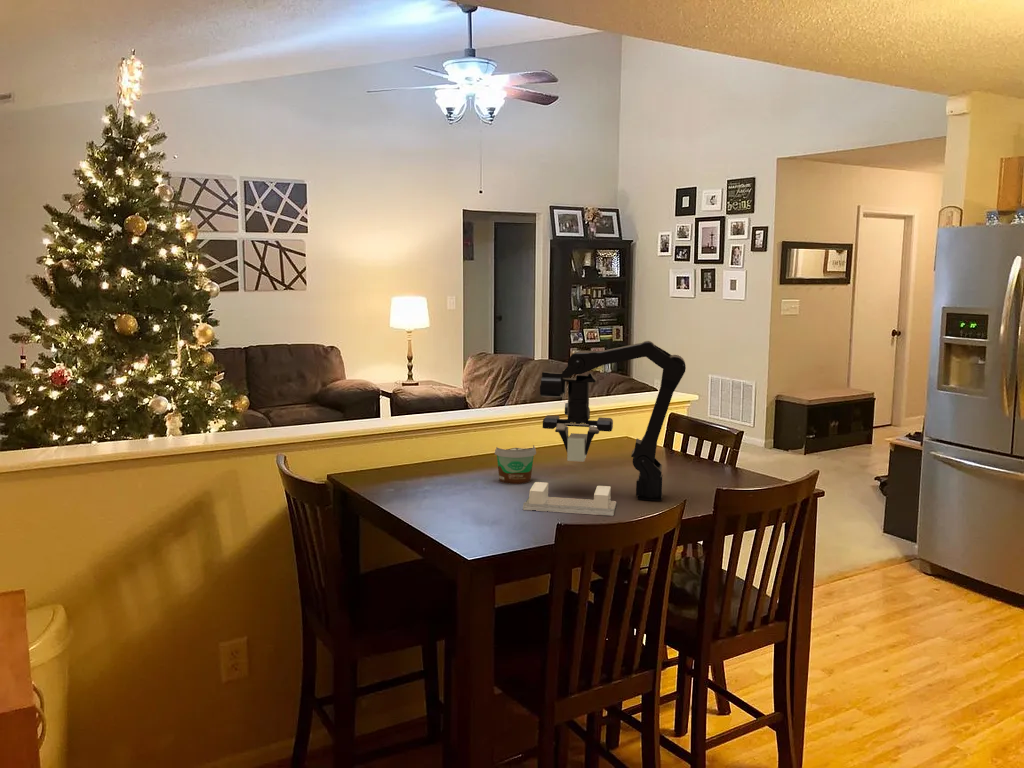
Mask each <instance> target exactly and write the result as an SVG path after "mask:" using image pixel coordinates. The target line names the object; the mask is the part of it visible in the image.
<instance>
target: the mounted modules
mask: <svg viewBox="0 0 1024 768" xmlns="http://www.w3.org/2000/svg"><path fill="white" fill-rule="evenodd" d="M611 490H612V489H611V486H610V485H609V486H608V485H597V486H596V489H595V491H594V494H593V500H594V508H604V509H608V508H609V504H610V501H611V496H612V495H611V494H612V493H611ZM548 497H549V482H543V481H542V482H541V481H535V482H534V483H533V485H532V486H531V488H530V489H529V496H528V498H529V504H542V505H543V504H545V502H546V500H547V498H548Z"/></svg>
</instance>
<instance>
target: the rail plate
mask: <svg viewBox="0 0 1024 768" xmlns="http://www.w3.org/2000/svg"><path fill="white" fill-rule="evenodd" d="M616 506H617V501H615V500H610V504H609V508H608V509H604V508H594V499H588V498H587V499H586V498H572V497H555V496H553V497H552V496H548V498H547V500H546V502H545V504H543V505H542V504H529V497H528V498H527V500H526V501H524V502H523V505H522V510H523V511H532V510H536V511H535V512H537V511H538V512H547V511H548V512H551V513H566V514H578V515H579V514H580V515H581V514H582V515H592V516H593V515H594V516H595V515H596V516H597V515H598V516H611V517H613V516H614V514H615V510H616Z"/></svg>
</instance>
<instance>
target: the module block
mask: <svg viewBox="0 0 1024 768" xmlns="http://www.w3.org/2000/svg"><path fill="white" fill-rule="evenodd" d="M568 436H569V438H568V448H567V451H566V454H567V455H566V456H567V458H566V459H567V460H566V461H567V462H583V463H584V462H585V461H586V458H587V455H588V454H587V455H585V448H586V440H587V433H574V432H573V433H570V434H569V435H568Z"/></svg>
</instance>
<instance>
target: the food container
mask: <svg viewBox="0 0 1024 768" xmlns="http://www.w3.org/2000/svg"><path fill="white" fill-rule="evenodd" d="M494 455H496V460H497V470H498V480H500V483H505V484H509V483H510V484H511V485H519V484H520V485H522V483H523V484H527V483H530V482H531V480H532V474H533V466H534V465H533V464H534V456H535V455H537V450H536V447H535V445H532V447H529V448H521V447H512V448H507V449H503V448H500V447H498V446H496V448H495V450H494ZM529 481H530V482H529Z"/></svg>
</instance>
